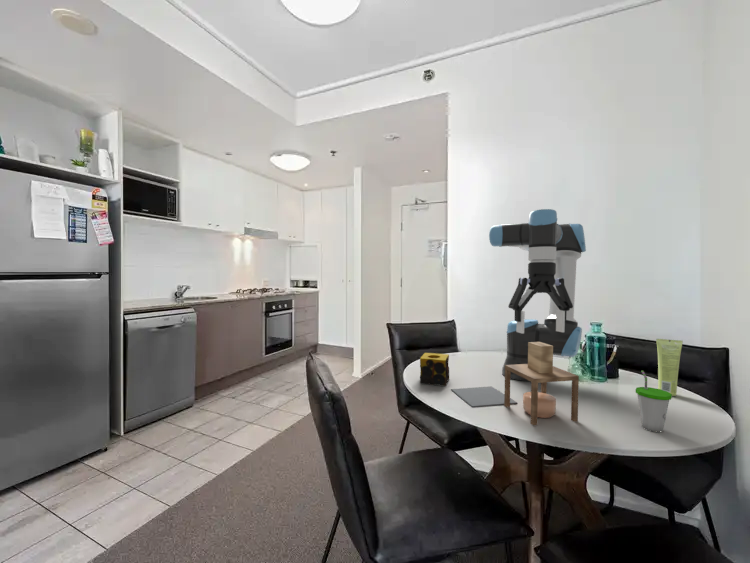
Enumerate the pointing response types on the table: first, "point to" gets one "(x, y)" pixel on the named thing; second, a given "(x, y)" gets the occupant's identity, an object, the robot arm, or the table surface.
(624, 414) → the table surface
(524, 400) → the peach rounded disc
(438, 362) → the candle
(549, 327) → the robot arm
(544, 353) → the wooden side table
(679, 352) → the tube
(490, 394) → the mat
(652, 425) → the cup
